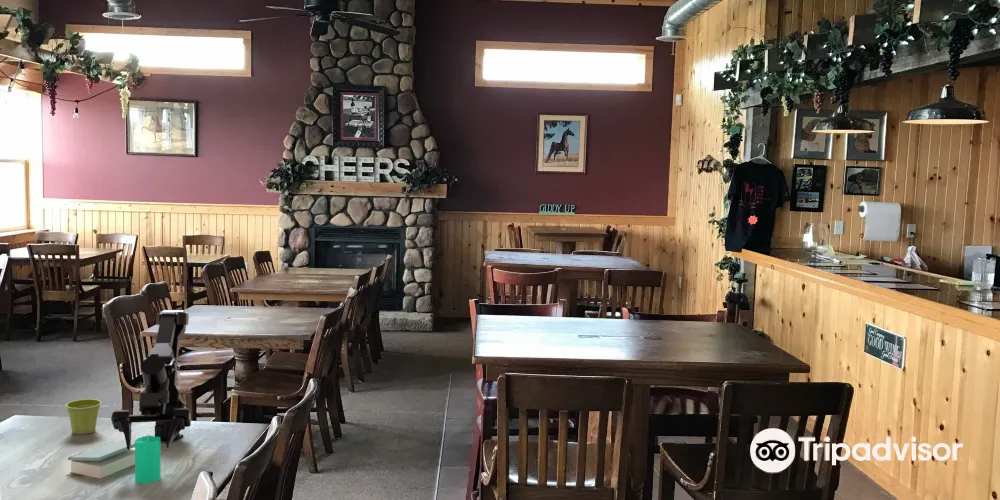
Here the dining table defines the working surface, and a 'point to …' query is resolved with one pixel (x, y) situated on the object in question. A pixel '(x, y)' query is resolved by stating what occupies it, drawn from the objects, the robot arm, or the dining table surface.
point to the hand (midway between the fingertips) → (147, 448)
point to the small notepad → (104, 464)
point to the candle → (147, 459)
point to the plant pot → (83, 415)
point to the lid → (103, 451)
